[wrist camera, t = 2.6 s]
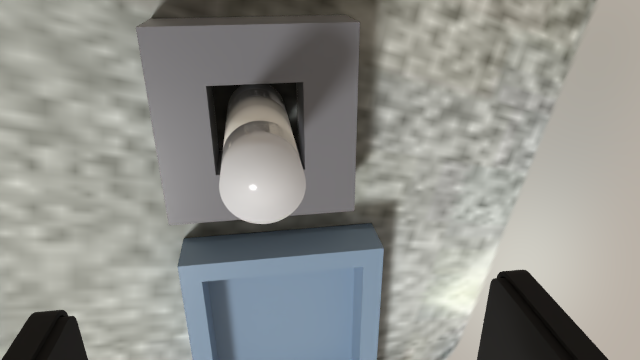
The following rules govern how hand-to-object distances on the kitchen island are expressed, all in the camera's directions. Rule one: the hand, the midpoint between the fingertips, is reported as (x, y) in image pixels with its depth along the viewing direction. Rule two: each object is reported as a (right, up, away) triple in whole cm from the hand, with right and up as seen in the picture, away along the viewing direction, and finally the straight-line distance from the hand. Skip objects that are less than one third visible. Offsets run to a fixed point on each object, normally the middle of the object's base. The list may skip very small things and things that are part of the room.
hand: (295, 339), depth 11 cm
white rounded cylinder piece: (-3, +8, +16) cm, 18 cm away
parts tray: (-2, -6, +22) cm, 23 cm away
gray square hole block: (-3, +8, +16) cm, 18 cm away
